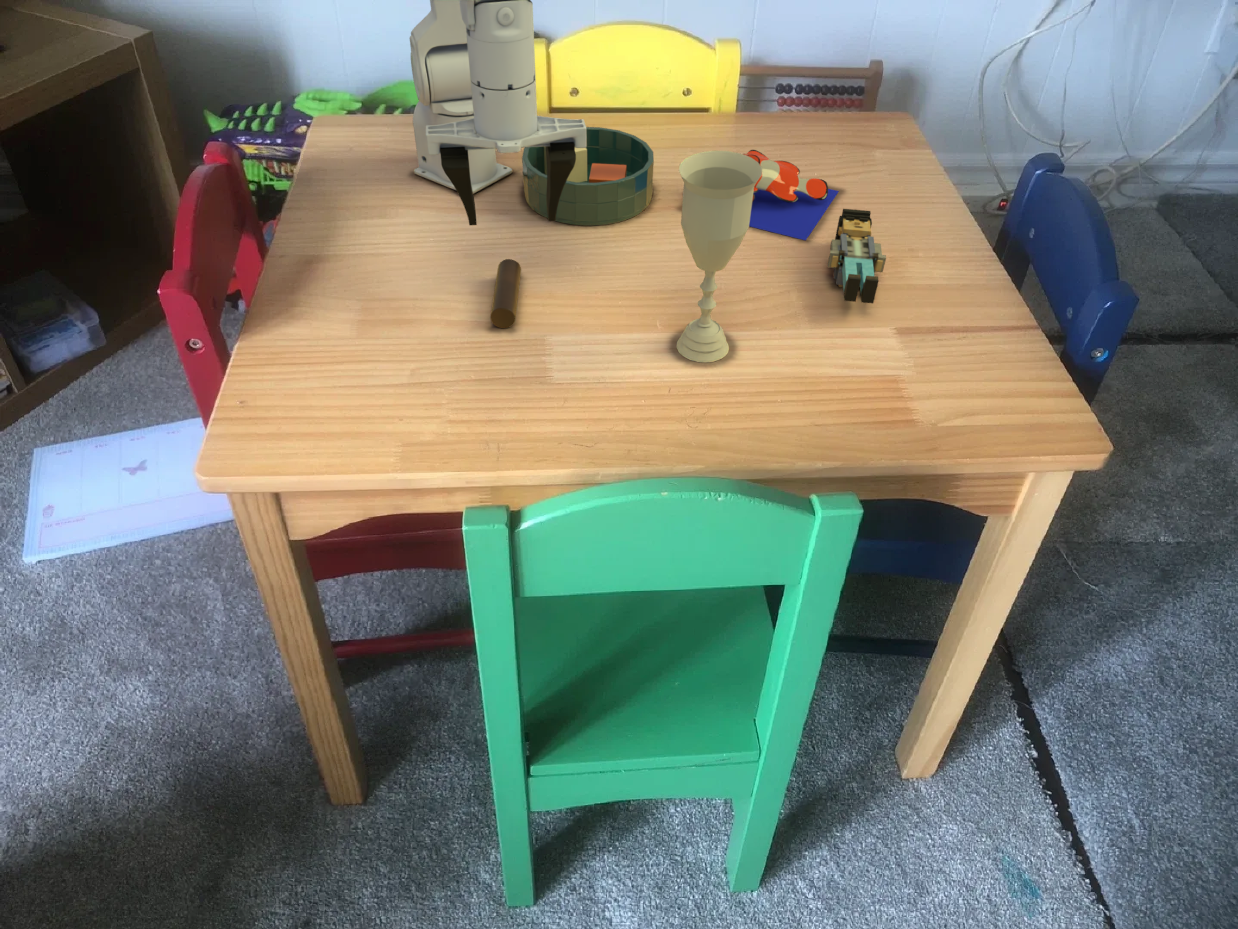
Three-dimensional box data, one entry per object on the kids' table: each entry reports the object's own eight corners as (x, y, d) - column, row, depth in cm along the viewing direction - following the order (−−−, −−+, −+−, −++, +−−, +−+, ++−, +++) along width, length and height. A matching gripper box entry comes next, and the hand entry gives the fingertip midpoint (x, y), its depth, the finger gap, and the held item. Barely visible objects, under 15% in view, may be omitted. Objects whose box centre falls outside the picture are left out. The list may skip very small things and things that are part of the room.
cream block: (544, 172, 113) (543, 141, 110) (574, 167, 114) (574, 135, 111) (556, 186, 110) (555, 154, 107) (587, 180, 111) (587, 149, 109)
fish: (707, 159, 105) (734, 132, 111) (704, 198, 108) (730, 169, 114) (816, 184, 101) (838, 154, 107) (809, 223, 104) (830, 192, 110)
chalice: (716, 378, 85) (737, 198, 72) (652, 353, 87) (662, 175, 75) (751, 339, 89) (776, 163, 77) (690, 316, 92) (705, 143, 79)
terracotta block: (592, 194, 109) (592, 162, 106) (625, 196, 109) (626, 164, 106) (588, 211, 106) (588, 178, 103) (623, 213, 106) (624, 180, 103)
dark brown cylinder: (506, 282, 96) (499, 332, 90) (493, 264, 95) (485, 314, 88) (525, 272, 96) (519, 322, 89) (512, 254, 94) (506, 304, 88)
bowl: (498, 198, 109) (495, 158, 105) (577, 154, 118) (577, 116, 114) (600, 239, 102) (600, 198, 99) (676, 189, 111) (678, 149, 108)
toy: (834, 277, 89) (830, 203, 100) (826, 316, 92) (823, 240, 103) (893, 282, 89) (883, 208, 99) (883, 321, 92) (874, 245, 102)
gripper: (419, 99, 77) (437, 243, 86) (590, 92, 78) (590, 234, 88) (419, 67, 82) (437, 206, 91) (580, 61, 83) (581, 199, 93)
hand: (512, 218), depth 90 cm, fingers open, 7 cm apart
